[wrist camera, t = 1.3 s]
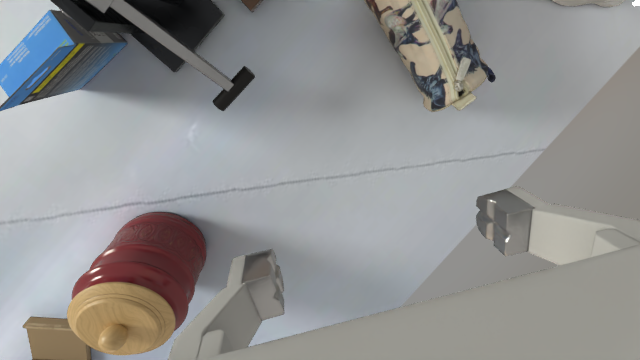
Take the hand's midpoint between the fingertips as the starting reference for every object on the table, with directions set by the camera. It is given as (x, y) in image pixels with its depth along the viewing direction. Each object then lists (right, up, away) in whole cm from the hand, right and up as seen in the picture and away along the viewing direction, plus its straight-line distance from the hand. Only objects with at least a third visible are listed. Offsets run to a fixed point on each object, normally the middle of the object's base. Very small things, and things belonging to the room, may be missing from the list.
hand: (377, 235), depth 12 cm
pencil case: (+8, +22, +26) cm, 35 cm away
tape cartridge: (-29, +17, +24) cm, 42 cm away
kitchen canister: (-26, -8, +36) cm, 45 cm away
